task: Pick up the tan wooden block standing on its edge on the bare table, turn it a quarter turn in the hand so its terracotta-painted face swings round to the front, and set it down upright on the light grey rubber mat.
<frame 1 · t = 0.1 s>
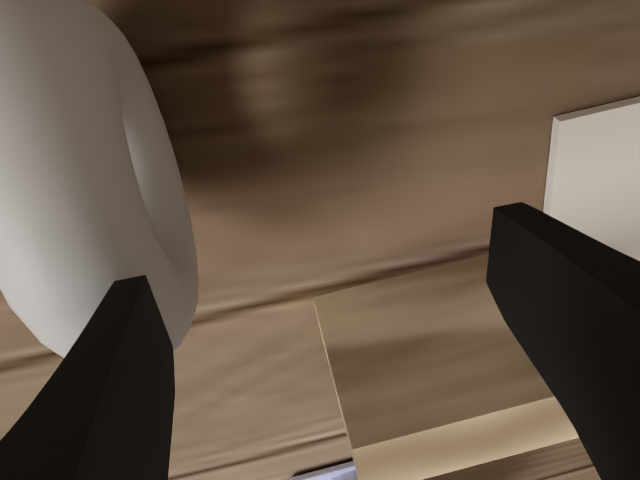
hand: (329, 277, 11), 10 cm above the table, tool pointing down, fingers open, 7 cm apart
tan wooden block: (408, 297, 27), on the table
donut: (120, 111, 19), on the table
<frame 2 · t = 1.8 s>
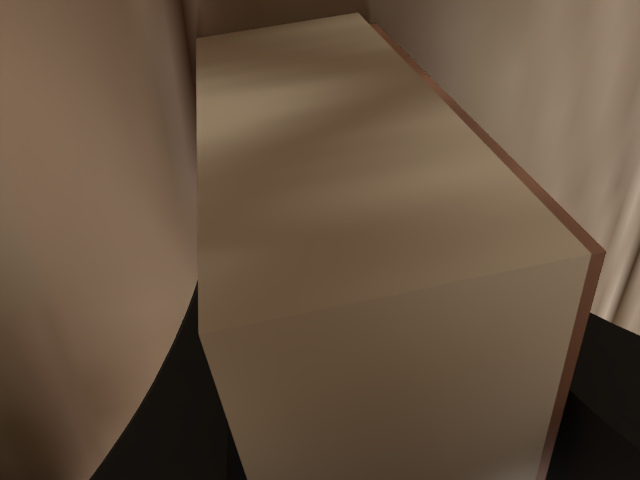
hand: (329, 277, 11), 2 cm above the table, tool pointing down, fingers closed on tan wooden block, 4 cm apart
tan wooden block: (304, 215, 13), on the table, touching gripper
when the fingers open (4 cm above the table, at t = 6.0 s): tan wooden block stays where it is, resting on mat.
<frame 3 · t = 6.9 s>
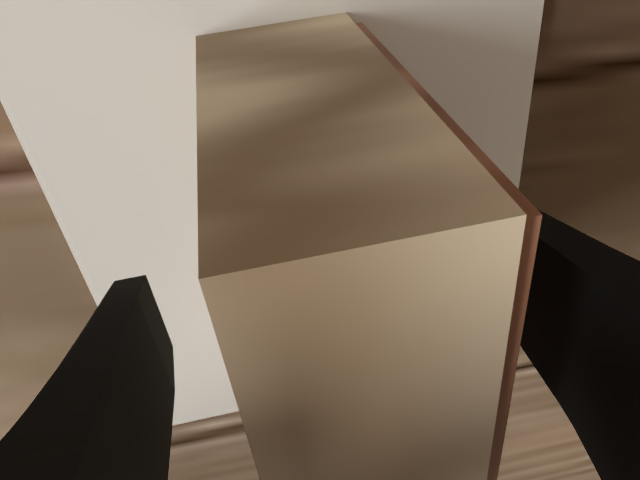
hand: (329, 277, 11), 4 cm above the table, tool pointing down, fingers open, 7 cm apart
tan wooden block: (297, 202, 14), resting on mat
mat: (300, 184, 15), on the table
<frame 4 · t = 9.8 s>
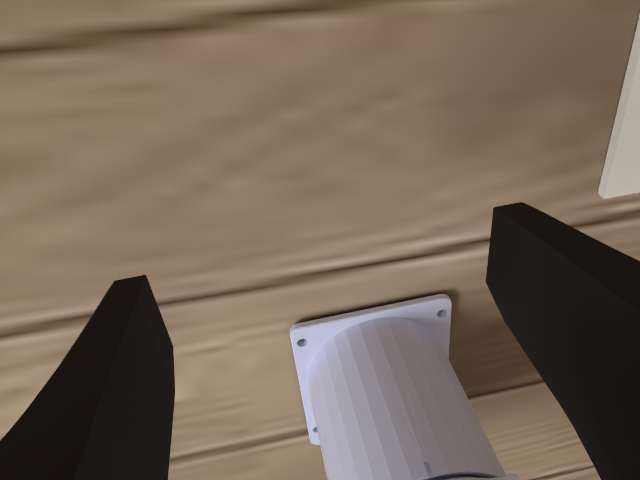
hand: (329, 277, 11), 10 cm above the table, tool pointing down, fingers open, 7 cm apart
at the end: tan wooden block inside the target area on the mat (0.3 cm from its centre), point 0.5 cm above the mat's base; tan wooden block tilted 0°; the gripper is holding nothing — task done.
